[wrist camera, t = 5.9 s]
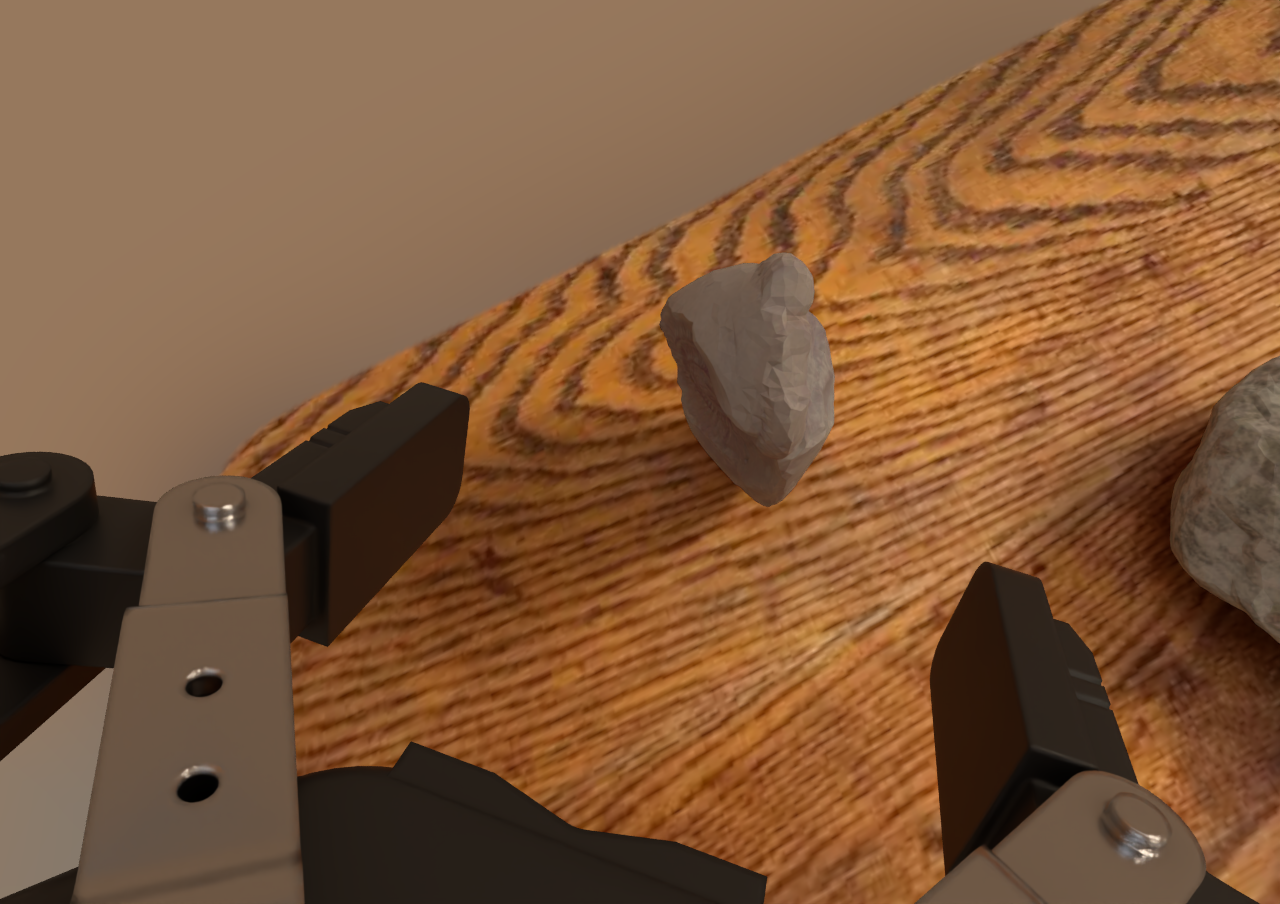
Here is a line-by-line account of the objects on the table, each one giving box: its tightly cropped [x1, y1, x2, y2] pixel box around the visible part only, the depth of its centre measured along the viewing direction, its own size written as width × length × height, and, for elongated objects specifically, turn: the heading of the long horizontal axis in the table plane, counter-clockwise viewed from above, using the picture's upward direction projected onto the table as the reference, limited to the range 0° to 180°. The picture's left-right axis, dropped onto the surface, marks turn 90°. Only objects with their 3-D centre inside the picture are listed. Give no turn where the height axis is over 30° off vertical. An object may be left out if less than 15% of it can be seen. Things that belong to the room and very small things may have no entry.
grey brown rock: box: [659, 252, 835, 507], centre depth 20 cm, size 6×4×10 cm, turn 26°
